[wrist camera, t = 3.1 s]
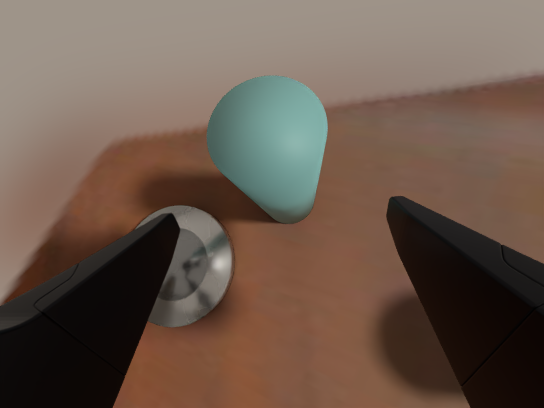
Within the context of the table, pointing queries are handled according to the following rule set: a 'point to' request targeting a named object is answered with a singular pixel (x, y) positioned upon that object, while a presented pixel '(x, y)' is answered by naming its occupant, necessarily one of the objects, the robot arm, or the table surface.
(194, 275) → the hub disc
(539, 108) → the table surface
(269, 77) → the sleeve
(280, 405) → the table surface
